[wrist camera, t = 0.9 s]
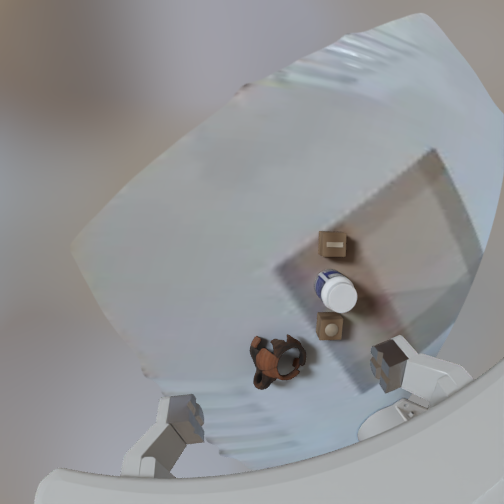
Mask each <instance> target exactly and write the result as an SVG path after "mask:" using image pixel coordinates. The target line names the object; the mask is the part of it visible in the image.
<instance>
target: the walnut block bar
mask: <svg viewBox="0 0 504 504" xmlns="http://www.w3.org/2000/svg"><path fill="white" fill-rule="evenodd" d="M318 254H320V255H321V256H323V257H346V233H344V232H331V231H319V247H318Z"/></svg>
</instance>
